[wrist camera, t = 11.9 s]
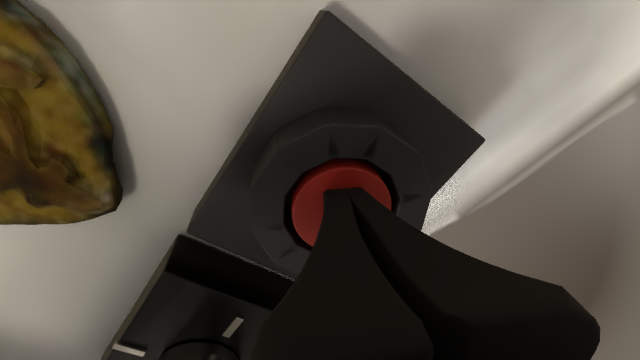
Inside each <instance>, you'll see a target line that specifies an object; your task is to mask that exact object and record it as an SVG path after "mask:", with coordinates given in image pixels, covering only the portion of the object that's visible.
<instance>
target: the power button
mask: <svg viewBox="0 0 640 360" xmlns="http://www.w3.org/2000/svg"><path fill="white" fill-rule="evenodd" d="M354 187H361V188H363V189H364V190H365V191H366V192H368V193H369V194H370V195H371V196H372V197H374V198H375V199H376V200H377V201H379V202H380V203H381V204H382V205H384V206H385V207H386V208H388V209H389V210H390V211H391V196H390V193H389V191H388V189H387V187H386V185H385V183H384V182H383V180H382V178H381V177H380V175H379V174H378V172H377V170H376V169H375V167H374V166H373V164H372V163H371V162H369V161H368V160H366V159H347V158H333V159H331V160H329V161H327V162H324V163H322V164H320V165H318V166H316V167H314V168H312V169H309V170H307V171H305V172H303V173H302V174H301V176H300V177H299V178H298V180H297V181H296V182H295V184H294V185H293V186H292V188H291V189H290V200H291V213H292V221H293V225H294V228H295V229H296V231H297V233H298V234H299V236H300V237H301V238H302V239H303V240H304V241H305V242H307V243H308V244H309V245H311V246H314V243H315V240H316V238H317V235H318V232H319V228H320V225H321V222H322V217H323V212H324V211H323V193H324V192H325V191H326V190H331V189H343V188H354Z"/></svg>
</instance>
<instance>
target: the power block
mask: <svg viewBox="0 0 640 360" xmlns="http://www.w3.org/2000/svg"><path fill="white" fill-rule="evenodd" d="M484 142H485V139H484V138H483V137H482V136H481V135H480V134H479V133H477V132H476V131H475V130H474V129H472V128H471V127H470V126H469V125H468V124H466V123H465V122H464V121H463V120H462V119H460V118H459V117H458V116H457V115H455V114H454V113H453V112H452V111H451V110H449V109H448V108H447V107H446V106H444V105H443V104H442V103H441V102H440V101H438V100H437V99H436V98H435V97H433V96H432V95H431V94H430V93H429V92H427V91H426V90H425V89H424V88H422V87H421V86H420V85H419V84H418V83H416V82H415V81H414V80H413V79H411V78H410V77H409V76H408V75H407V74H405V73H404V72H403V71H402V70H400V69H399V68H398V67H397V66H396V65H394V64H393V63H392V62H391V61H390V60H388V59H387V58H386V57H385V56H383V55H382V54H381V53H380V52H379V51H377V50H376V49H375V48H374V47H372V46H371V45H370V44H369V43H368V42H366V41H365V40H364V39H363V38H361V37H360V36H359V35H358V34H357V33H355V32H354V31H353V30H352V29H350V28H349V27H348V26H347V25H346V24H344V23H343V22H342V21H341V20H339V19H338V18H337V17H336V16H335V15H333V14H332V13H331V12H330V11H326V10H320V11H319V13H318V14H317V16H316V17H315V19H314V21H313V22H312V24H311V25H310V27H309V29H308V30H307V32H306V33H305V35H304V37H303V38H302V40H301V41H300V43H299V45H298V46H297V48H296V49H295V51H294V53H293V54H292V56H291V57H290V59H289V60H288V62H287V64H286V65H285V67H284V68H283V70H282V72H281V73H280V75H279V76H278V78H277V80H276V81H275V83H274V84H273V86H272V88H271V89H270V91H269V92H268V94H267V96H266V97H265V99H264V100H263V102H262V104H261V105H260V107H259V108H258V110H257V112H256V113H255V115H254V116H253V118H252V119H251V121H250V123H249V124H248V126H247V127H246V129H245V131H244V132H243V134H242V135H241V137H240V139H239V140H238V142H237V143H236V145H235V147H234V148H233V150H232V151H231V153H230V155H229V156H228V158H227V159H226V161H225V163H224V164H223V166H222V167H221V169H220V170H219V172H218V174H217V175H216V177H215V178H214V180H213V182H212V183H211V185H210V186H209V188H208V190H207V191H206V193H205V194H204V196H203V198H202V199H201V201H200V202H199V204H198V206H197V207H196V209H195V211H194V213H193V216H192V218H191V221H190V223H189V226H188V228H187V233H188V234H191V235H193V236H195V237H198V238H200V239H202V240H205V241H207V242H210V243H212V244H214V245H217V246H219V247H221V248H224V249H226V250H228V251H231V252H233V253H235V254H238V255H240V256H243V257H245V258H247V259H250V260H252V261H254V262H257V263H259V264H261V265H264V266H266V267H268V268H271V269H273V270H276V271H278V272H280V273H283V274H285V275H287V276H290V277H292V278H294V279H296V278H297V277H298V275H299V273H300V272H301V270H302V268H303V266H304V264H305V263H306V261H307V259H308V257H309V255H310V252H311V250H312V248H313V246H311V245H309V244H308V243H307V242H305V241H304V240H303V239H302V238H301V237H300V236H299V234H298V233H297V231H296V229H295V228H294V225H293V221H292V213H291V200H290V189H291V188H292V186H293V185H294V184H295V182H296V181H297V180H298V178H299V177H300V176H301V174H302V173H303V172H305V171H307V170H309V169H312V168H314V167H316V166H318V165H320V164H322V163H324V162H327V161H329V160H331V159H333V158H347V159H366V160H368V161H369V162H371V163H372V164H373V166H374V167H375V169H376V170H377V172H378V174H379V175H380V177H381V178H382V180H383V182H384V183H385V185H386V187H387V189H388V191H389V193H390V196H391V212H393V213H394V214H396V215H397V216H398V217H400V218H401V219H403V220H404V221H406V222H407V223H409V224H410V225H412V226H413V227H415V228H416V229H418V230H419V231H421V230H422V226H423V223H424V220H425V216H426V213H427V210H428V206H429V203H430V199H431V198H432V197H433V196H434V195H435V194H436V193H437V192H438V190H439V189H440V188H441V187H442V186H443V185H444V184H445V183H446V182H447V181H448V180H449V179H450V178H451V177H452V176H453V174H454V173H455V172H456V171H457V170H458V169H459V168H460V167H461V166H462V165H463V164H464V163H465V162H466V161H467V160H468V159H469V157H470V156H471V155H472V154H473V153H474V152H475V151H476V150H477V149H478V148H479V147H480V146H481V145H482V144H483V143H484Z"/></svg>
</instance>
